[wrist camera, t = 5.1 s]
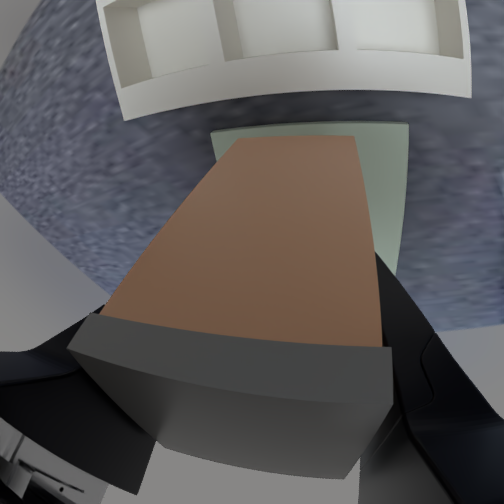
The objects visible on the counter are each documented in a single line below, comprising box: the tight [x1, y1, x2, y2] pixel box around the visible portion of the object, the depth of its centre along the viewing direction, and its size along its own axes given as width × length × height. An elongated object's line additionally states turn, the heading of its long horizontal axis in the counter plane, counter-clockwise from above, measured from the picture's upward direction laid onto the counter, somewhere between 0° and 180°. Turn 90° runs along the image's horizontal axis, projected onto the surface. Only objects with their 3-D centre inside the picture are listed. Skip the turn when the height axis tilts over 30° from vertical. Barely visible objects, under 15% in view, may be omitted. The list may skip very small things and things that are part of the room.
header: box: [96, 0, 471, 121], centre depth 12 cm, size 18×9×4 cm, turn 99°
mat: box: [210, 121, 409, 276], centre depth 21 cm, size 12×12×1 cm
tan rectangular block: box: [67, 135, 393, 479], centre depth 9 cm, size 5×5×10 cm
